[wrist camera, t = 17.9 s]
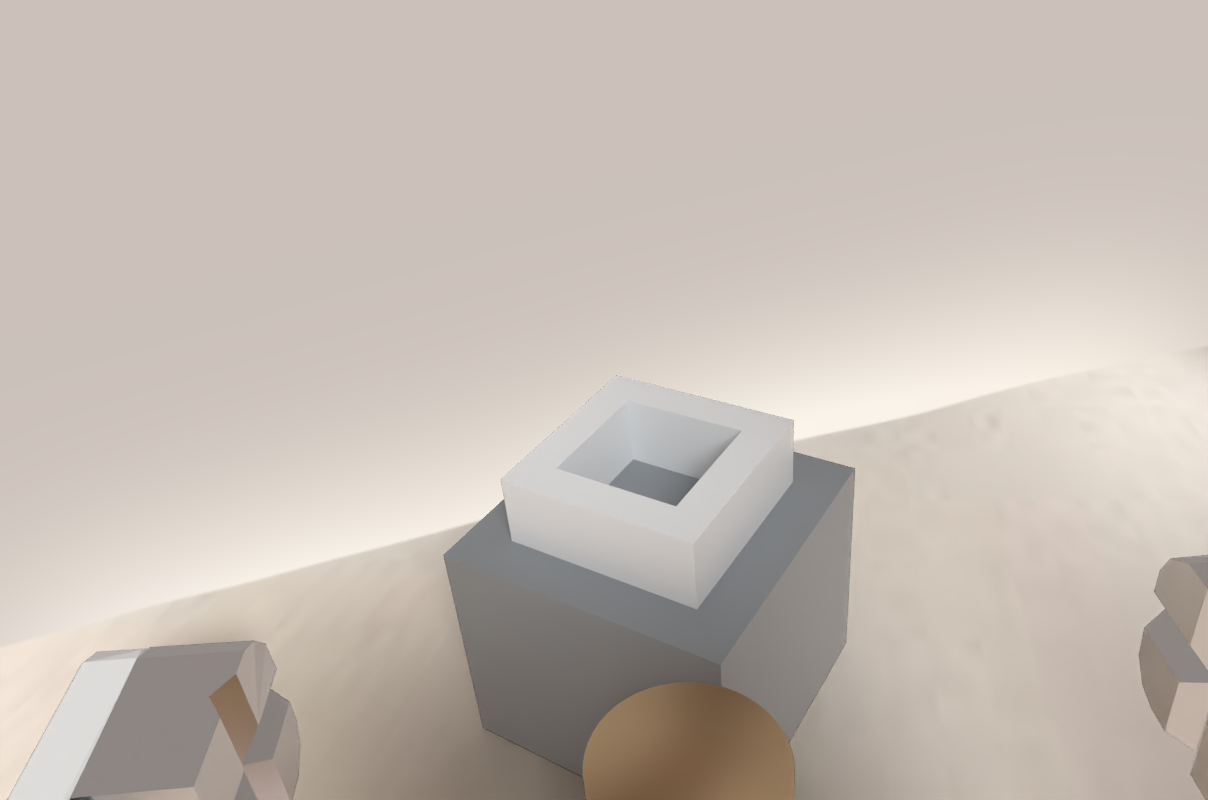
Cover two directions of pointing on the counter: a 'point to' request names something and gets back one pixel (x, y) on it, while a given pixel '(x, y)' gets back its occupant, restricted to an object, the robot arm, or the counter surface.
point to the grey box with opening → (653, 567)
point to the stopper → (688, 748)
